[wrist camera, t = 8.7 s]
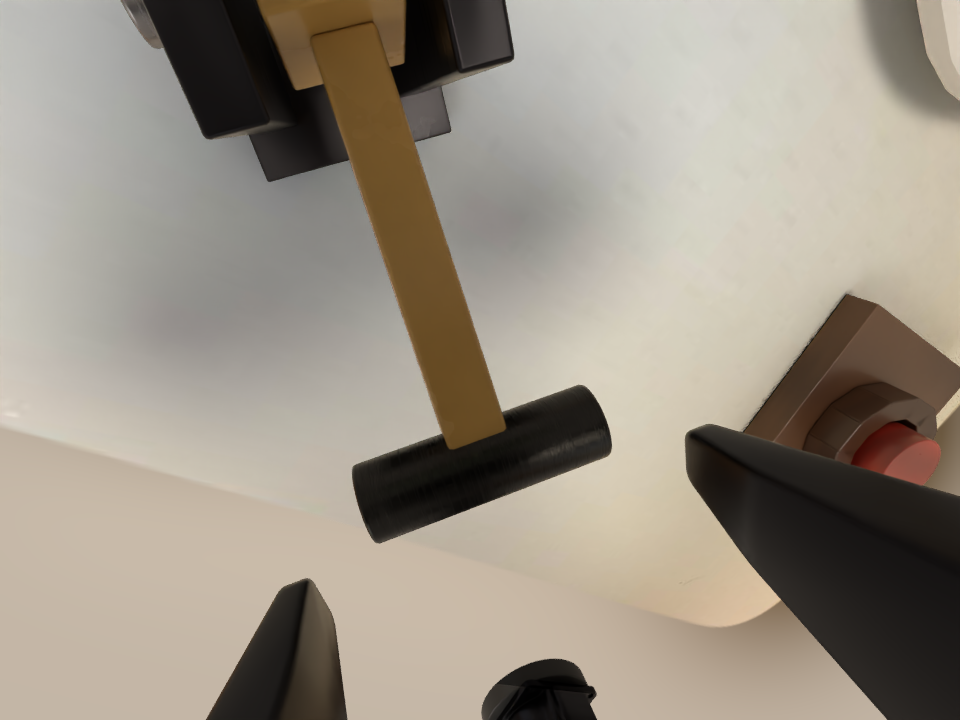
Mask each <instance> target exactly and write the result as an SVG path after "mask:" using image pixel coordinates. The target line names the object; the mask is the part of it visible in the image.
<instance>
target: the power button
mask: <svg viewBox="0 0 960 720" xmlns="http://www.w3.org/2000/svg"><path fill="white" fill-rule="evenodd" d="M940 454H941V450H940V447H939V445H938V444H937V443H936V442H935V441H934V440H932V439H930V438H928V437H926V436H924V435H922V434H920V433H918V432H916V431H914V430H912V429H911V428H909V427H907V426H905V425H903V424H901V423H898V422H889V423H887V424H886V425H884V426H883V427H881V428H880V429H878V430H876V431H875V432H873V433H872V434H870V435H869V436H868V437H867V438H866V440H865V441H864V442H863V443H862V445H861V446H860V447H859V448H858V449H857V451H856V452H855V453H854V456H853V459H852V461H851V465H854V466H858V467H861V468H865V469H868V470H872V471H875V472H878V473H882V474H885V475H889V476H892V477H895V478H899V479H902V480H906V481H909V482H913V483H916V484H919V485H923V484H924V483H925V482H926V481H927V480H928V479H929V478H930V476H931V475H932V474H933V472H934V471H935V469H936V467H937V465H938V463H939V459H940Z"/></svg>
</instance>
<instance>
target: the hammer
mask: <svg viewBox="0 0 960 720" xmlns="http://www.w3.org/2000/svg"><path fill="white" fill-rule="evenodd" d="M256 1H257V4H258V7H259V10H260V13H261V15H262V17H263V19H264V22H265V24H266V26H267V29H268V31H269V33H270V36H271V38H272V40H273V43H274V45H275V47H276V50H277V52H278V54H279V57H280V59H281V61H282V64H283V66H284V68H285V71H286V73H287V75H288V78H289V80H290V82H291V85H292V87H293V88H294V89H295V90H301V89H305V88H309V87H313V86H317V85H321V84H324V87H325V90H326V93H327V96H328V99H329V102H330V105H331V108H332V111H333V114H334V117H335V120H336V123H337V126H338V128H339V131H340V134H341V137H342V140H343V143H344V146H345V149H346V152H347V155H348V158H349V161H350V164H351V167H352V170H353V173H354V176H355V179H356V182H357V185H358V188H359V190H360V193H361V196H362V199H363V202H364V205H365V208H366V211H367V214H368V217H369V220H370V223H371V226H372V229H373V232H374V235H375V238H376V241H377V244H378V247H379V249H380V252H381V255H382V258H383V261H384V264H385V267H386V270H387V273H388V276H389V279H390V282H391V285H392V288H393V291H394V294H395V297H396V300H397V303H398V306H399V309H400V311H401V314H402V317H403V320H404V323H405V326H406V329H407V332H408V335H409V338H410V341H411V344H412V347H413V350H414V353H415V356H416V359H417V362H418V365H419V368H420V370H421V373H422V376H423V379H424V382H425V385H426V388H427V391H428V394H429V397H430V400H431V403H432V406H433V409H434V412H435V415H436V418H437V421H438V424H439V427H440V429H441V432H442V434H440V435H437V436H434V437H431V438H428V439H426V440H423V441H420V442H417V443H415V444H412V445H409V446H406V447H403V448H401V449H398V450H395V451H392V452H389V453H387V454H384V455H381V456H378V457H375V458H373V459H370V460H367V461H364V462H361V463H359V464H356V465H355V466H353V469H352V479H353V486H354V491H355V495H356V499H357V503H358V506H359V509H360V512H361V515H362V518H363V521H364V523H365V526H366V528H367V530H368V532H369V534H370V536H371V538H372V539H373V540H374V542H375V543H382V542H385V541H387V540H390V539H393V538H395V537H398V536H401V535H403V534H406V533H409V532H411V531H414V530H416V529H419V528H422V527H424V526H427V525H429V524H432V523H435V522H437V521H440V520H443V519H445V518H448V517H450V516H453V515H456V514H458V513H461V512H464V511H466V510H469V509H471V508H474V507H477V506H479V505H482V504H484V503H487V502H490V501H492V500H495V499H498V498H500V497H503V496H505V495H508V494H511V493H513V492H516V491H518V490H521V489H524V488H526V487H529V486H532V485H534V484H537V483H539V482H542V481H545V480H547V479H550V478H553V477H555V476H558V475H560V474H563V473H566V472H568V471H571V470H573V469H576V468H579V467H581V466H584V465H587V464H589V463H592V462H594V461H597V460H600V459H602V458H605V457H607V456H608V455H609V454H610V453H611V449H612V442H611V435H610V430H609V427H608V424H607V421H606V418H605V416H604V413H603V411H602V409H601V407H600V405H599V403H598V401H597V400H596V398H595V397H594V395H593V394H592V393H591V392H590V390H589V389H588V388H587V387H585V386H583V385H577V386H574V387H571V388H568V389H565V390H563V391H560V392H557V393H554V394H551V395H549V396H546V397H543V398H540V399H537V400H535V401H532V402H529V403H526V404H523V405H521V406H518V407H515V408H512V409H510V410H507V411H504V412H502V411H501V408H500V405H499V402H498V398H497V395H496V392H495V389H494V386H493V383H492V380H491V377H490V374H489V371H488V368H487V365H486V361H485V358H484V355H483V352H482V349H481V346H480V343H479V340H478V337H477V334H476V331H475V328H474V324H473V321H472V318H471V315H470V312H469V309H468V306H467V303H466V300H465V297H464V294H463V291H462V287H461V284H460V281H459V278H458V275H457V272H456V269H455V266H454V263H453V260H452V257H451V253H450V250H449V247H448V244H447V241H446V238H445V235H444V232H443V229H442V226H441V223H440V220H439V216H438V213H437V210H436V207H435V204H434V201H433V198H432V195H431V192H430V189H429V186H428V183H427V179H426V176H425V173H424V170H423V167H422V164H421V161H420V158H419V155H418V152H417V149H416V146H415V142H414V139H413V136H412V133H411V130H410V127H409V124H408V121H407V118H406V115H405V112H404V109H403V105H402V102H401V99H400V96H399V93H398V90H397V87H396V84H395V81H394V78H393V75H392V72H391V68H390V67H392V66H396V65H400V64H403V63H404V62H405V35H406V0H256Z"/></svg>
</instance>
